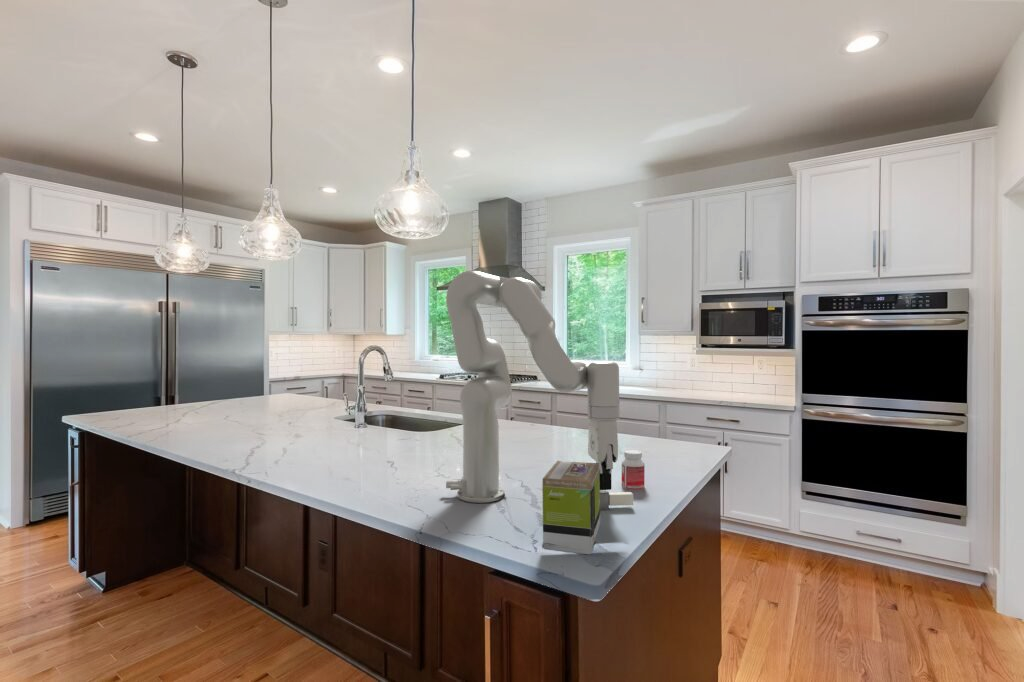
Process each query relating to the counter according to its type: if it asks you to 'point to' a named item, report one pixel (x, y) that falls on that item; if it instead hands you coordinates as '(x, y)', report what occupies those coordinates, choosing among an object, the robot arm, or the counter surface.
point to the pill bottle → (633, 470)
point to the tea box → (571, 507)
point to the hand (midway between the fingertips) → (604, 488)
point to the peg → (615, 499)
